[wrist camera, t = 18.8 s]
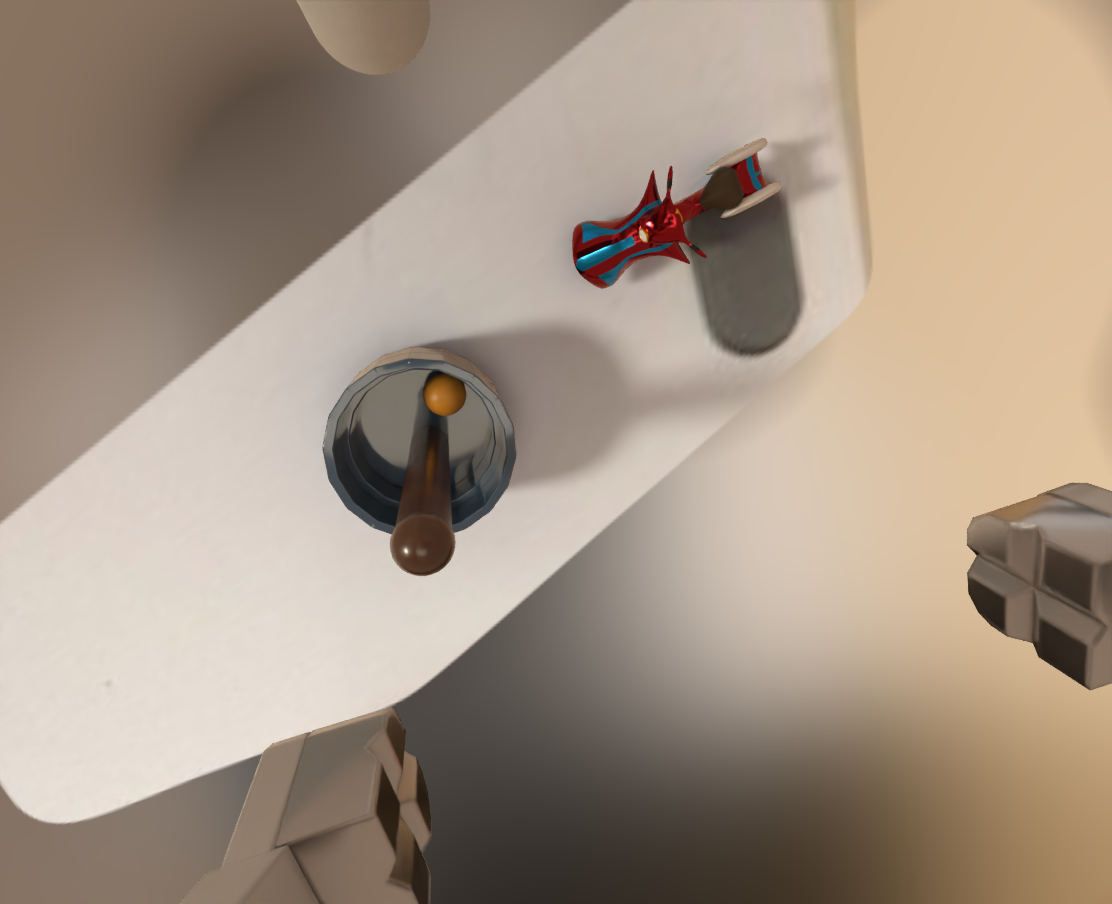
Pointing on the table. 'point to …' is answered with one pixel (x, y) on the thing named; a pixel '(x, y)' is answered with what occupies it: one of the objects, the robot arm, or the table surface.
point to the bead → (444, 394)
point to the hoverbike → (668, 218)
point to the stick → (425, 507)
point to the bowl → (389, 424)
